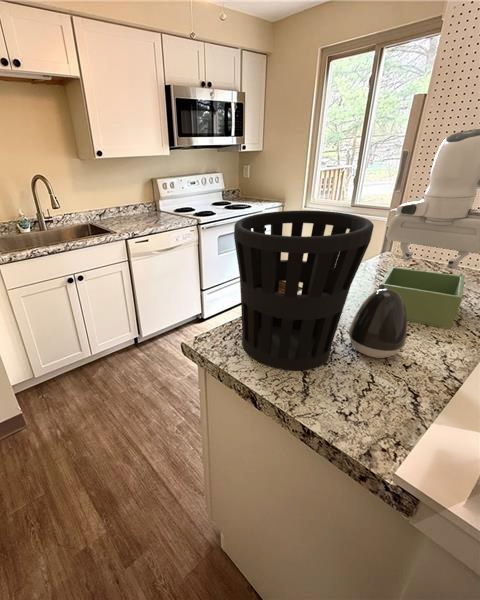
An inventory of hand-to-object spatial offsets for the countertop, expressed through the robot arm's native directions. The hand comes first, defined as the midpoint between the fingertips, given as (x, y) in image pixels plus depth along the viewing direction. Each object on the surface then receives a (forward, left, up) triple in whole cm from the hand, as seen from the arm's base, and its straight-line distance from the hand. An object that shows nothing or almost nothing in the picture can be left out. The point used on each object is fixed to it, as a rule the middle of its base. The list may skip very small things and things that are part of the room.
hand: (428, 263), depth 79 cm
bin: (0, 0, -13) cm, 13 cm away
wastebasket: (+42, 0, -14) cm, 44 cm away
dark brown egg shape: (+26, +10, -14) cm, 31 cm away
